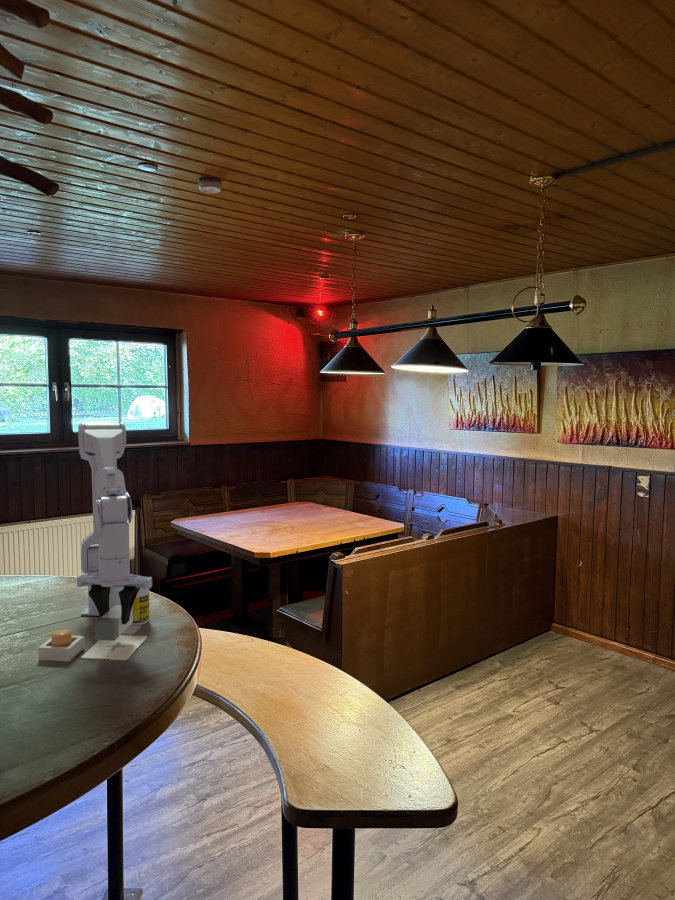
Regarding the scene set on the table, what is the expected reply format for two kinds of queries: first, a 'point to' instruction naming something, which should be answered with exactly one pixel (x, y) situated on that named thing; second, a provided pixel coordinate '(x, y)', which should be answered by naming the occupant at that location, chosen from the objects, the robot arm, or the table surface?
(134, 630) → the card
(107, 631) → the grey rectangular prism
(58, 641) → the button
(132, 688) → the table surface
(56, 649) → the button box
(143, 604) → the supplement bottle
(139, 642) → the paper sheet
